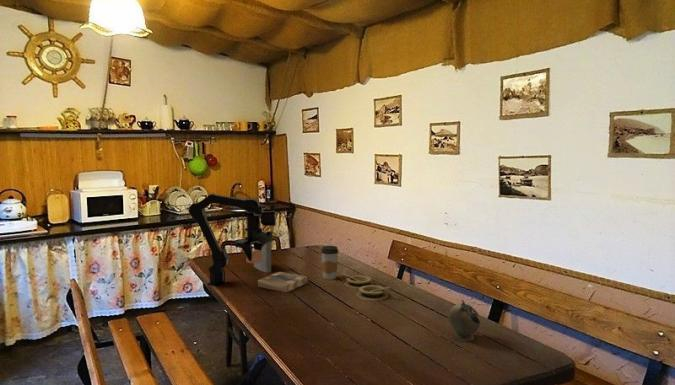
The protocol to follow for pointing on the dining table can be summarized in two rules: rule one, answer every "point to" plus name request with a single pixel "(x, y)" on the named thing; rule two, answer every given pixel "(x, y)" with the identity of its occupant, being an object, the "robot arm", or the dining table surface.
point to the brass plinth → (282, 281)
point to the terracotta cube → (255, 256)
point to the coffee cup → (329, 262)
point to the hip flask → (265, 259)
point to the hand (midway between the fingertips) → (253, 259)
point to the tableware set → (366, 287)
